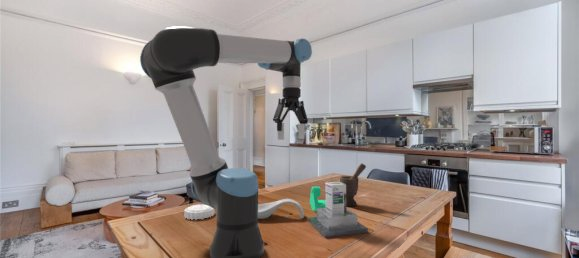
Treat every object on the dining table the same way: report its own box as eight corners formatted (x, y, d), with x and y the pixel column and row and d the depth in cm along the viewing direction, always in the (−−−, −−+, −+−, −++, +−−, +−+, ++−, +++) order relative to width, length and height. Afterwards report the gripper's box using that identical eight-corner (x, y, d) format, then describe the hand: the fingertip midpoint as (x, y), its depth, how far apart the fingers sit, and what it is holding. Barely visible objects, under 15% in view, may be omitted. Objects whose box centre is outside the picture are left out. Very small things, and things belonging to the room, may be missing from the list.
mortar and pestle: (361, 202, 126) (361, 161, 126) (367, 207, 117) (367, 163, 117) (338, 202, 126) (338, 161, 126) (342, 207, 117) (342, 164, 117)
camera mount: (332, 213, 110) (332, 189, 110) (315, 213, 109) (315, 189, 109) (325, 205, 122) (325, 183, 122) (309, 205, 121) (309, 184, 121)
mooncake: (180, 215, 107) (180, 206, 107) (207, 209, 115) (207, 201, 115) (190, 222, 98) (191, 213, 98) (219, 215, 106) (219, 207, 106)
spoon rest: (243, 221, 99) (243, 203, 99) (248, 212, 111) (248, 195, 111) (304, 222, 99) (303, 203, 99) (303, 212, 110) (303, 196, 111)
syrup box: (332, 226, 90) (332, 184, 90) (325, 220, 95) (325, 181, 96) (346, 224, 91) (346, 183, 92) (339, 219, 97) (339, 180, 97)
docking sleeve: (325, 237, 83) (324, 221, 84) (308, 221, 99) (308, 207, 99) (367, 232, 88) (367, 216, 88) (345, 217, 103) (345, 204, 103)
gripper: (302, 92, 118) (302, 138, 118) (263, 84, 99) (263, 139, 98) (315, 90, 113) (315, 138, 113) (278, 82, 94) (278, 140, 94)
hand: (291, 139), depth 106 cm, fingers open, 13 cm apart
